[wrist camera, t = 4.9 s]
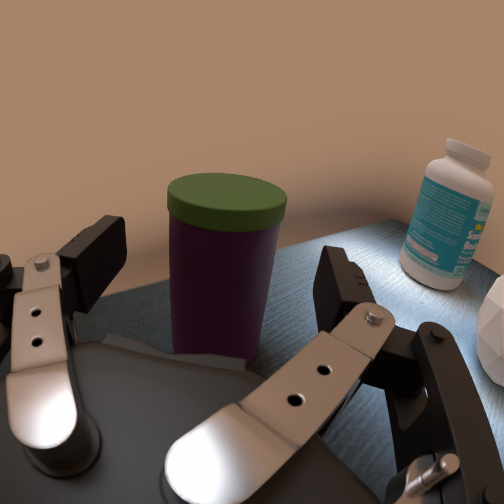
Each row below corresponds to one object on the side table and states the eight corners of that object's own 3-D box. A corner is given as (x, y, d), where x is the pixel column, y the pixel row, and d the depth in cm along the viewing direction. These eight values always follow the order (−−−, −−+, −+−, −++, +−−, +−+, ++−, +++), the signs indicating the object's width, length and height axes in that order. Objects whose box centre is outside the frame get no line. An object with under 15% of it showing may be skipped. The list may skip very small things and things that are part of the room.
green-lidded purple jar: (186, 387, 14) (184, 214, 10) (162, 323, 18) (158, 174, 13) (274, 363, 16) (311, 206, 12) (237, 309, 20) (254, 172, 16)
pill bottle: (455, 304, 23) (508, 162, 17) (388, 271, 27) (429, 130, 20) (460, 274, 28) (499, 159, 22) (405, 248, 32) (437, 135, 26)
